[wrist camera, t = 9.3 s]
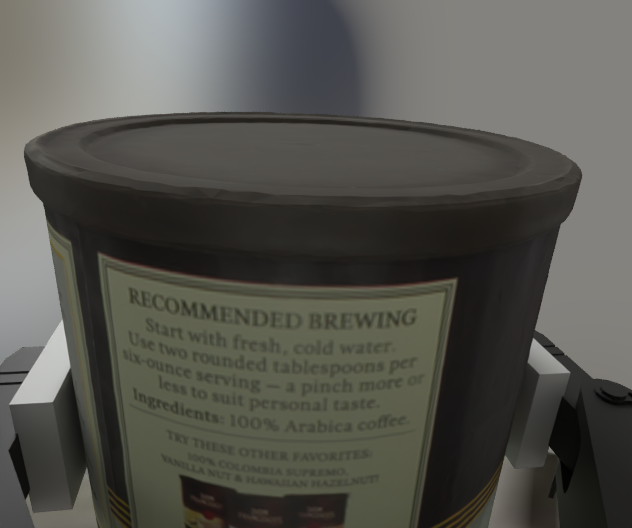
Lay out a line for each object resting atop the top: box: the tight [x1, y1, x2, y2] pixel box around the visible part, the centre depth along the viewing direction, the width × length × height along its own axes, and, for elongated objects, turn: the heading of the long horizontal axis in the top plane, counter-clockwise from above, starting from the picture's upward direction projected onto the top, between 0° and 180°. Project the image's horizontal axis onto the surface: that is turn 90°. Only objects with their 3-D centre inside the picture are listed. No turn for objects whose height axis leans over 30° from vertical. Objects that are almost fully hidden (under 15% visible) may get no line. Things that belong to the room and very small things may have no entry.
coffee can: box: [24, 112, 582, 528], centre depth 13 cm, size 10×10×14 cm
